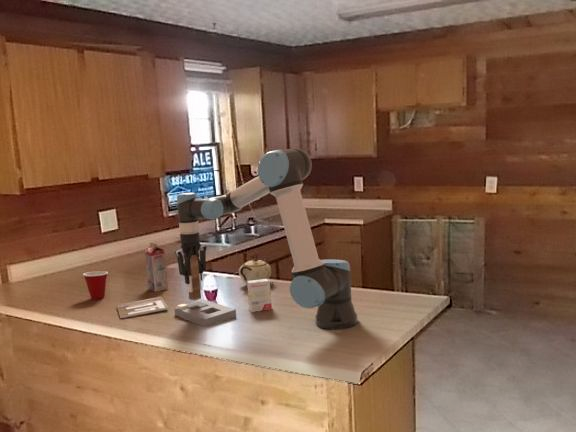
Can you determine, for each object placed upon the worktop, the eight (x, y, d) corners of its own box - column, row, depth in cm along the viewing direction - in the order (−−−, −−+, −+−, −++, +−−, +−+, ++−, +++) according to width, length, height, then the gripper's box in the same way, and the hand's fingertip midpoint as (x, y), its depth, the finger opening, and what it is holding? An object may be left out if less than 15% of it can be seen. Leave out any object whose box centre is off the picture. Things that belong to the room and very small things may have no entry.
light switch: (161, 300, 249) (117, 309, 243) (161, 296, 249) (116, 304, 243) (168, 311, 233) (121, 321, 227) (167, 306, 233) (120, 316, 226)
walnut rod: (201, 298, 227) (197, 254, 224) (193, 300, 225) (190, 256, 222) (196, 297, 229) (192, 253, 227) (189, 299, 227) (185, 255, 224)
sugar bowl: (257, 278, 276) (254, 248, 274) (281, 281, 268) (279, 250, 265) (229, 288, 261) (227, 256, 259) (255, 292, 252) (252, 259, 250)
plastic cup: (115, 296, 261) (112, 270, 259) (96, 302, 252) (93, 276, 250) (100, 293, 267) (97, 268, 265) (80, 299, 258) (77, 274, 256)
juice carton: (155, 291, 264) (150, 245, 261) (148, 289, 269) (143, 243, 266) (167, 288, 268) (163, 242, 265) (160, 286, 273) (156, 241, 270)
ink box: (269, 306, 231) (267, 277, 229) (272, 309, 226) (270, 280, 224) (248, 308, 229) (246, 280, 227) (250, 312, 224) (248, 283, 223)
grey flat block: (236, 317, 220) (235, 306, 219) (206, 326, 211) (205, 316, 210) (204, 306, 236) (203, 296, 235) (175, 315, 227) (174, 305, 226)
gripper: (201, 228, 231) (206, 284, 235) (166, 234, 220) (171, 293, 224) (212, 229, 226) (217, 287, 229) (176, 236, 215) (181, 296, 218)
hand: (194, 290), depth 226 cm, fingers closed on walnut rod, 3 cm apart
